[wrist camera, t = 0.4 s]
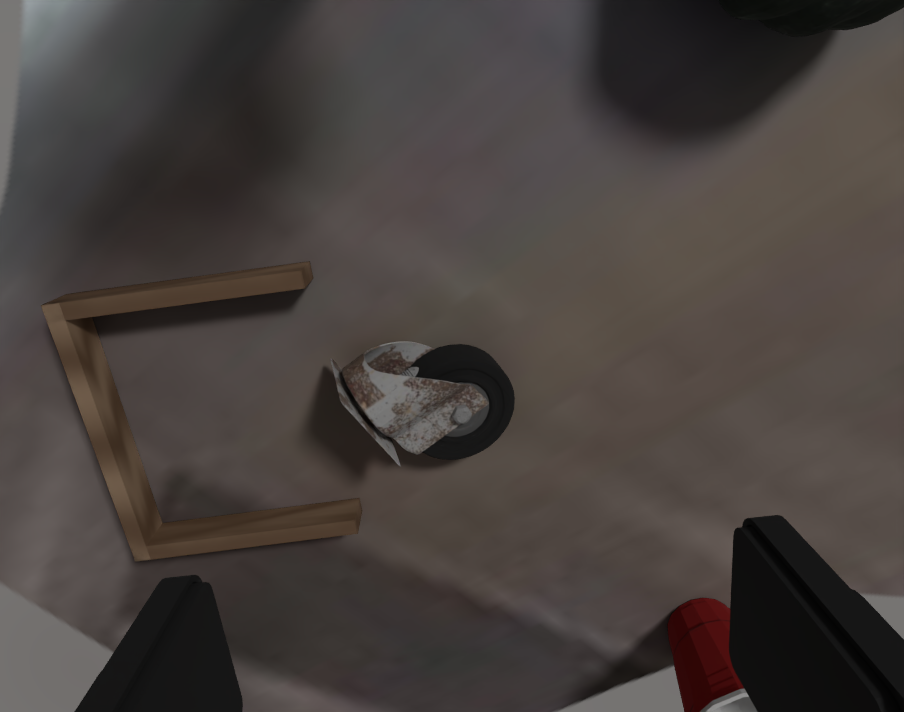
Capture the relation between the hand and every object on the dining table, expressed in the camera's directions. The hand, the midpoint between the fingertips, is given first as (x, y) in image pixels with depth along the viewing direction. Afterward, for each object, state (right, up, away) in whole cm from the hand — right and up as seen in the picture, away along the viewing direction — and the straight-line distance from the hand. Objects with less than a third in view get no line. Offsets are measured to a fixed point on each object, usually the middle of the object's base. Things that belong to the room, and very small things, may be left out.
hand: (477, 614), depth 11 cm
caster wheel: (-2, +3, +36) cm, 36 cm away
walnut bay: (-17, +1, +36) cm, 40 cm away
